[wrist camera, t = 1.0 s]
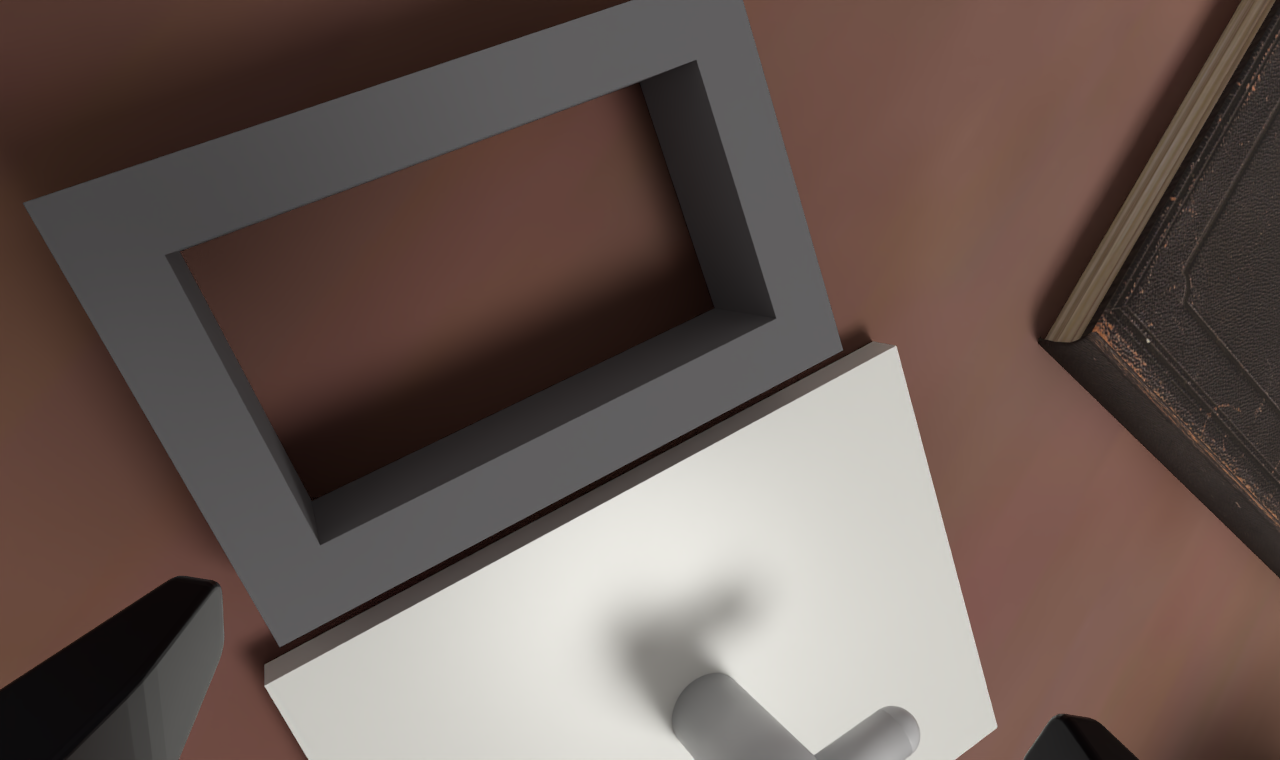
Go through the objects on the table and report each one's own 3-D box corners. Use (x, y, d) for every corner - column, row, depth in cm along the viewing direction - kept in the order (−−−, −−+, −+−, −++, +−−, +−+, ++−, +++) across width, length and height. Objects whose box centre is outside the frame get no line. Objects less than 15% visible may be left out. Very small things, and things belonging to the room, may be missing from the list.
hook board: (499, 1063, 24) (571, 1311, 18) (264, 664, 19) (265, 833, 14) (974, 711, 29) (1137, 821, 24) (872, 341, 25) (1043, 372, 19)
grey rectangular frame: (277, 588, 19) (279, 647, 16) (61, 207, 16) (22, 202, 14) (775, 336, 23) (843, 350, 21) (671, 1, 21) (733, -34, 18)
